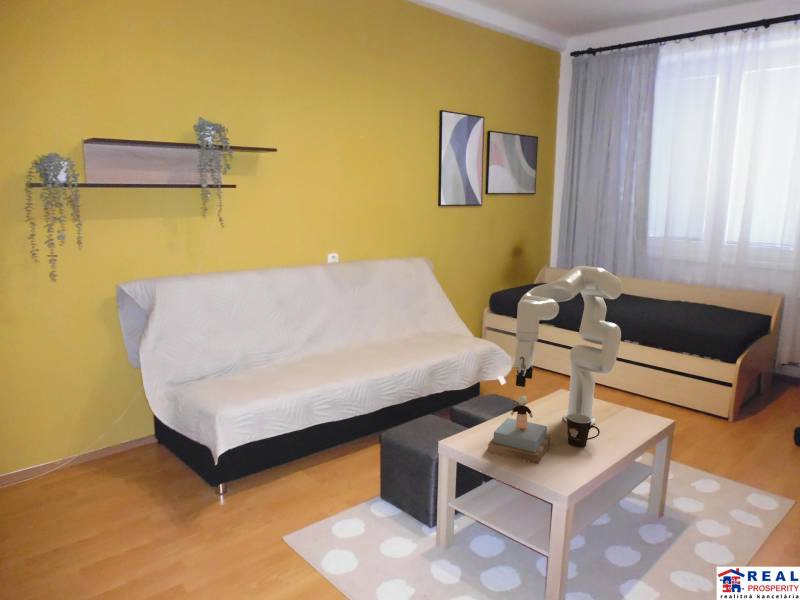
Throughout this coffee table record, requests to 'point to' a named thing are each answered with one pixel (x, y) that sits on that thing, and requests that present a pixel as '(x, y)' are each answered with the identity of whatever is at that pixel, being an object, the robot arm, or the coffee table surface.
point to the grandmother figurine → (522, 414)
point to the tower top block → (520, 435)
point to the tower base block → (520, 451)
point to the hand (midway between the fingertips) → (524, 382)
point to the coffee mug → (579, 429)
